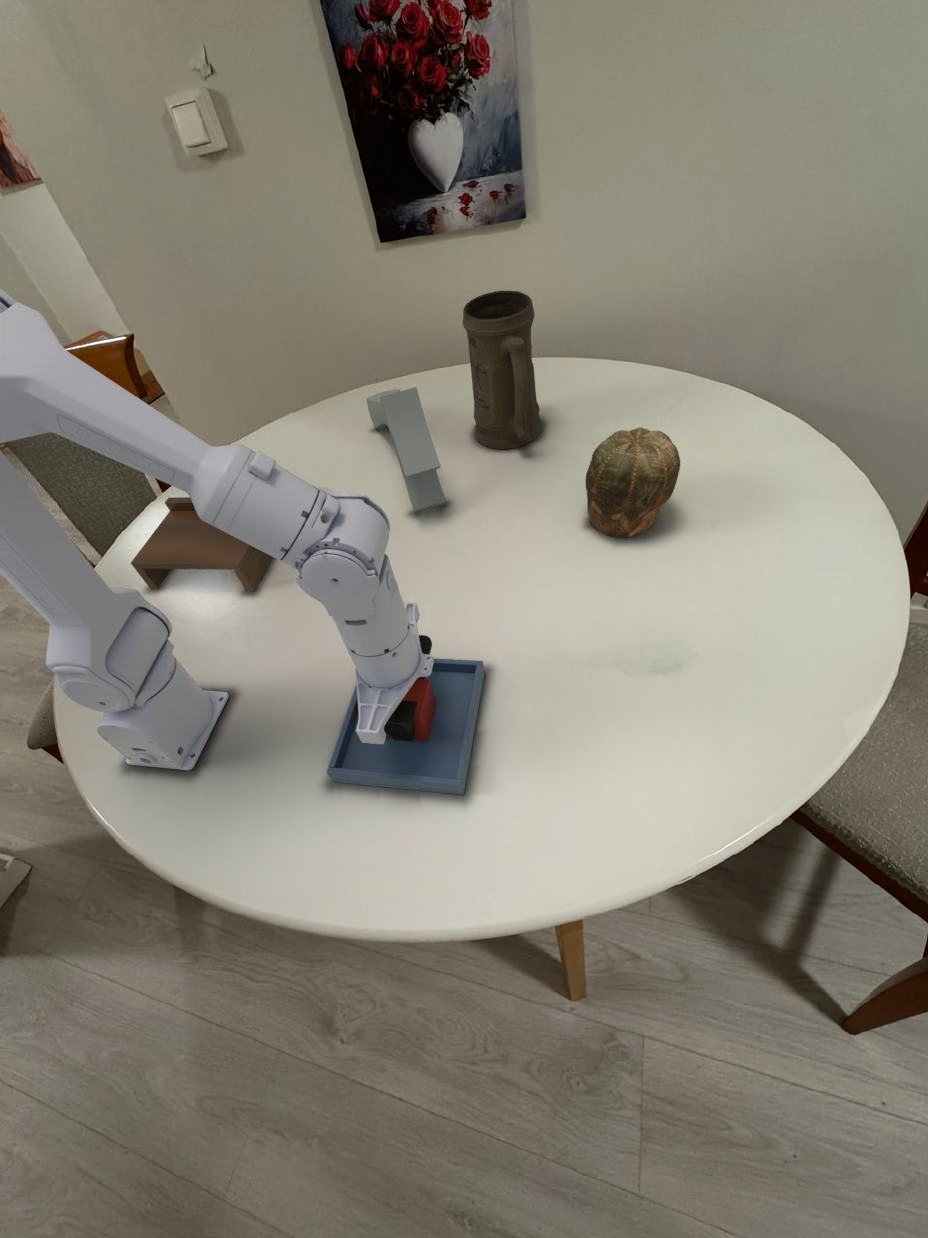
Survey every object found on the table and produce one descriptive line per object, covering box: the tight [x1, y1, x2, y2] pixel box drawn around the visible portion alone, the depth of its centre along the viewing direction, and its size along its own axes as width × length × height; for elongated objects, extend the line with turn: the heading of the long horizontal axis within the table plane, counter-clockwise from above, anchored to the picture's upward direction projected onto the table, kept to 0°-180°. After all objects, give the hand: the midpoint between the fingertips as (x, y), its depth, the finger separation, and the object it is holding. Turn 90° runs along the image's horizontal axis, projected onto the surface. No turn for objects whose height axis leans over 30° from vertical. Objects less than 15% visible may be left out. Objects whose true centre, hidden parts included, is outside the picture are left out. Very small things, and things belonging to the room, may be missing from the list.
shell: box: [585, 427, 681, 539], centre depth 72 cm, size 11×11×12 cm
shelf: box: [130, 496, 274, 593], centre depth 80 cm, size 12×16×6 cm
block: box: [385, 679, 437, 742], centre depth 58 cm, size 4×4×4 cm
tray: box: [326, 657, 486, 796], centre depth 60 cm, size 14×13×2 cm
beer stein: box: [462, 290, 542, 450], centre depth 86 cm, size 15×11×20 cm
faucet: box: [365, 386, 447, 515], centre depth 88 cm, size 6×17×30 cm
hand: (409, 715), depth 59 cm, fingers closed on block, 4 cm apart
